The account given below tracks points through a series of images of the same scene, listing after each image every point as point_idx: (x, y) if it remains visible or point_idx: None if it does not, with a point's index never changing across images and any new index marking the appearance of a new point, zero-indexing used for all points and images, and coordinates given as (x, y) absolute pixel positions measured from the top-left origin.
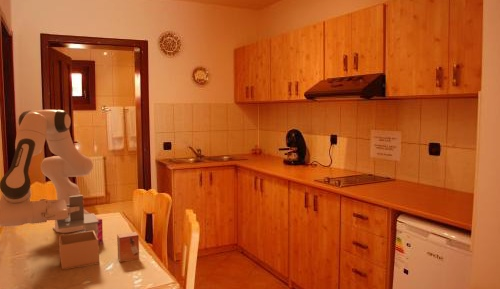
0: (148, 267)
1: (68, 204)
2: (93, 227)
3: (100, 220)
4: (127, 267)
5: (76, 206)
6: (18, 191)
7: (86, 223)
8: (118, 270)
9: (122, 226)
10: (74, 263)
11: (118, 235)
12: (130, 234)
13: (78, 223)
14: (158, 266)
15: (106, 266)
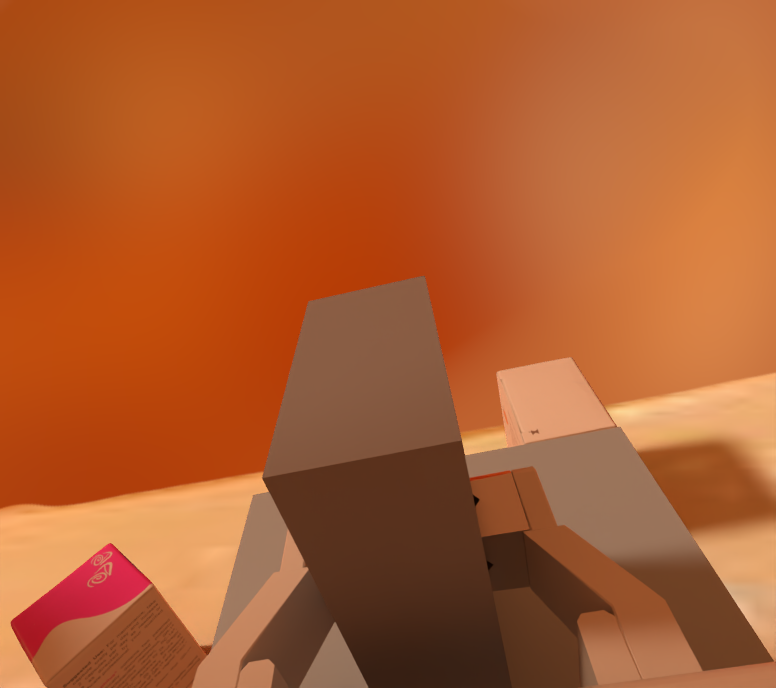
0: (706, 425)
1: (260, 676)
2: (156, 633)
3: (124, 556)
4: (706, 505)
5: (510, 500)
6: None
7: (686, 529)
8: (761, 549)
9: (28, 539)
10: None
11: (555, 435)
12: (553, 384)
13: (704, 627)
14: (693, 395)
15: None
